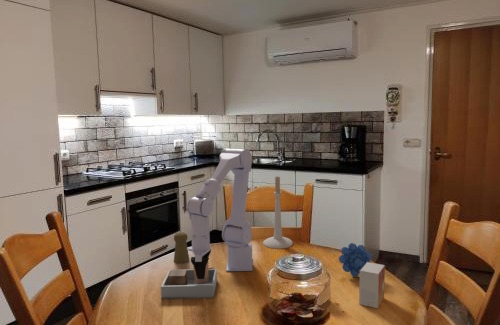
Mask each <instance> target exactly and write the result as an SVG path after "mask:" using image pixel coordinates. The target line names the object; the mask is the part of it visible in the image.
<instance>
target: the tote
mask: <svg viewBox="0 0 500 325" xmlns="http://www.w3.org/2000/svg"><path fill="white" fill-rule="evenodd" d="M172 270H173V269H168V271H167V274H166V275H165V277H164V279H163V281H162V283H161V286H160V295H161V296H160V297H161V300H171V299H172V300H174V299H175V300H178V299H183V300H184V299H185V300H186V299H214V297H215V292H216V288H217V283H218V270H217V268H208V270H209V282H208V283H205V284H196V283H194V269H190V268H187V269H185V268H184V269H183V268H182V269H181V270H187V283H188V284H187V285H176V286H169V275H170V273H171V271H172Z"/></svg>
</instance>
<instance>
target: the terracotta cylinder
mask: <svg viewBox="0 0 500 325" xmlns="http://www.w3.org/2000/svg"><path fill="white" fill-rule="evenodd" d="M192 266H193V265H192ZM193 269H194V283H196V284H205V283H208V282H209V270H208V269H209V261H208V262H207V265H206V270H205V277H204V279H197V276H196V272H195V268H194V266H193Z"/></svg>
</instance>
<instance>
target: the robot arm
mask: <svg viewBox="0 0 500 325" xmlns="http://www.w3.org/2000/svg"><path fill="white" fill-rule="evenodd" d="M252 160H253V155H252V153H251V152H250V150H249V149H248V148H228V147H225V148H223V149H222V151H221V153H220V154H219V163H218V165H217V167H216V169H215V171H214V173H213V175H212V176H211V178H208V179H206V180H205V181H204V182H203V185H201V187H200V189H199V191H198V193H197V194H196V196H194V197H193V196H192V197H191V198H190V199H189V200H188V202H187V206H186V208H185V209H186V212H187V214H188V216H189V218H188V219H189V220H190V226H191V228H190V229H191V246H189V247H187V248H188V252H192V254H193V255H194V256H191V257H190V263H191V264H192V266H194V268H195V272H196V276H197V279H204V277H205V270H206V265H207V262H208V263H209V260H210V255H211V253H212V249H211V244H210V242H211V240H210V239H211V238H210V237H211V236H210V235H211V234H210V215H211V214H212V212H213V208H214V204H215V199H216V198H217V197H218V195H219V193H220V191H221V189H222V188H221V183H222V182H223V180H224V179H225V178H226V176H227V175H228V174H229V173H230V171H231V172H232V174H233V175H234V177H233V187H232V198H231V199H232V200H231V209H230V217H229V218H227V220H224V224H223V228H222V231H221V238H222V240H223V241H224V242H225V245H226V248H227V252H226V254H227V262H226V269H225V271H226V272H253V264H254V258H253V244H252V243H250V242H251V240H252V235H253V234H252V224H251V223H250V222H249V221H248V219H246V209H247V200H248V199H247V198H248V187H249V186H248V185H249V177H250V176H249V175H250V172H251V171H252V163H253V162H252Z"/></svg>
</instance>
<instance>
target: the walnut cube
mask: <svg viewBox="0 0 500 325" xmlns="http://www.w3.org/2000/svg"><path fill="white" fill-rule="evenodd" d="M171 270H172V271H171V273H170V275H169V286H176V285H187V284H188V283H187V270H182V269H171Z"/></svg>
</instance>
